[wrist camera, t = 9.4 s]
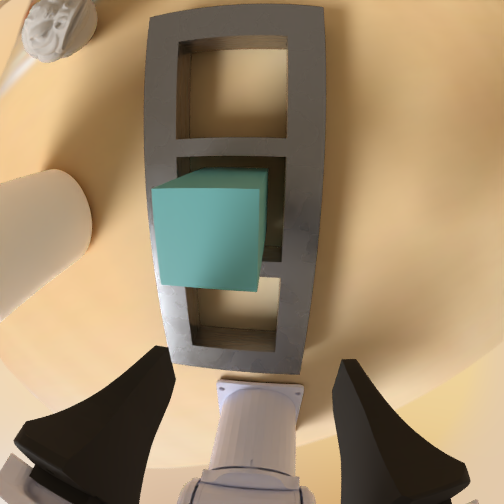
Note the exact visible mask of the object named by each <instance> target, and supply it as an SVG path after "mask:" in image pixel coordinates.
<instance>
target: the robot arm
mask: <svg viewBox="0 0 504 504" xmlns="http://www.w3.org/2000/svg"><path fill="white" fill-rule="evenodd" d="M175 381H176V378H175V374H174V370H173V366H172V361H171V357H170V352H169V348H168V347H162V346H154V347H153V348H152V349H151V350H150V351H149V352H147V353H146V354H145V355H144V356H143V357H142V358H141V359H140V360H138V361H137V362H136V363H135V364H134V365H133V366H132V367H130V368H129V369H128V370H127V371H126V372H124V373H123V374H122V375H121V376H120V377H118V378H117V379H116V380H114V381H113V382H112V383H110V384H109V385H108V386H106V387H105V388H103V389H102V390H101V391H99V392H98V393H96V394H94V395H93V396H91V397H89V398H88V399H86V400H84V401H82V402H80V403H78V404H76V405H74V406H72V407H70V408H68V409H65V410H63V411H60V412H58V413H55V414H52V415H49V416H46V417H42V418H38V419H35V420H30V421H26V422H25V424H24V425H23V427H22V428H21V430H20V431H19V433H18V434H17V436H16V438H15V439H14V443H15V445H16V446H17V448H18V449H19V450H20V451H21V452H23V453H24V454H25V455H26V456H27V457H28V458H29V459H30V460H31V461H32V462H33V463H34V464H35V466H34V468H32V467H30V466H29V465H28V464H26V463H25V462H23V461H22V460H21V459H19V458H18V457H17V456H15V455H14V454H10V456H9V458H8V459H7V461H6V463H5V464H4V466H3V468H2V469H1V471H0V497H1V498H2V499H4V500H5V501H6V502H7V503H8V504H139V500H140V493H141V487H142V482H143V477H144V473H145V468H146V464H147V460H148V456H149V453H150V449H151V445H152V443H153V440H154V437H155V435H156V432H157V430H158V428H159V425H160V423H161V420H162V418H163V416H164V413H165V411H166V409H167V406H168V404H169V401H170V399H171V395H172V392H173V388H174V384H175ZM216 385H217V394H218V403H219V411H220V419H219V424H218V428H217V433H216V437H215V442H214V446H213V451H212V455H211V460H210V464H209V469H208V470H207V469H204V470H203V472H202V476H201V478H193V479H192V480H190V481H189V482H187V483H186V484H185V485H184V486H183V488H182V490H181V492H180V495H179V498H178V501H177V504H316V501H315V496H314V494H313V493H312V492H311V491H310V490H309V489H308V488H307V487H306V486H300V487H299V477H295V454H296V423H297V419H298V415H299V410H300V406H301V402H302V398H303V393H304V386H303V385H300V384H273V383H257V382H244V381H233V380H223V379H220V380H218V381H217V384H216ZM222 387H223V388H222ZM297 392H298V393H297ZM332 398H333V413H334V419H335V425H336V431H337V437H338V443H339V448H340V455H341V477H342V478H341V480H342V481H341V504H452V502H451V498H452V497H453V496H455V495H456V494H458V493H459V492H461V491H462V490H463V489H465V488H466V487H467V486H468V485H469V484H470V477H469V474H468V471H467V468H466V466H465V463H463V462H461V461H459V460H457V459H455V458H453V457H450V456H449V455H447V454H445V453H444V452H442V451H441V450H439V449H438V448H436V447H434V446H433V445H432V444H430V443H429V442H427V441H426V440H425V439H424V438H422V437H421V436H420V435H419V434H417V433H416V432H415V431H414V430H413V429H412V428H411V427H410V426H408V425H407V424H406V423H405V422H404V421H403V420H402V419H401V418H400V417H399V415H398V414H397V413H396V412H395V411H394V410H393V409H392V407H391V406H390V405H389V404H388V403H387V402H386V400H385V399H384V398H383V396H382V395H381V394H380V393H379V391H378V390H377V389H376V387H375V386H374V384H373V383H372V382H371V380H370V379H369V377H368V376H367V375H366V373H365V372H364V370H363V369H362V367H361V366H360V364H359V363H358V361H357V360H356V359H342V360H341V364H340V367H339V371H338V374H337V377H336V380H335V384H334V387H333V390H332ZM467 504H479V503H478V500H474V501H472V502H470V503H467Z"/></svg>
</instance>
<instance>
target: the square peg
mask: <svg viewBox="0 0 504 504" xmlns="http://www.w3.org/2000/svg"><path fill="white" fill-rule="evenodd" d="M151 190H152V205H153V217H154V228H155V238H156V248H157V256H158V265H159V272H160V280H161V285H171V286H182V287H194V288H207V289H220V290H234V291H250V292H257V289H258V282H259V276H260V269H261V263H262V256H263V250H264V243H265V237H266V230H267V199H268V168H247V167H205V168H202V169H199V170H197V171H194V172H191V173H189V174H186V175H184V176H181V177H179V178H176V179H174V180H171V181H169V182H166V183H164V184H162V185H159V186H157V187H154V188H152V189H151Z"/></svg>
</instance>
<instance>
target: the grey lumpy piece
mask: <svg viewBox="0 0 504 504" xmlns="http://www.w3.org/2000/svg"><path fill="white" fill-rule="evenodd" d="M95 7H96V5H95V4H94V3H93V1H91V0H41V1H40V2H38V3H36V4H35V5H33V6H32V8H31V9H30V13H29V15H28V17H27V18H26V19H25V23H24V27H23V29H22V42H23V46H24V49H25V51H26V52H27V53H28V54H29V55H30V56H32V57H33V58H36V59H39V61H41V62H43V63H51V62H54V61H56V60H59V59H60V58H65V57H69V56H70V55H72V54H73V53H75V52H77V51H78V50H80V49H81V48H82V47H84V46H85V45H86V44H87V43H88V42H89V40H90V39H91V37H92V36H93V34H94V32H95V30H96V27H97V21H98V17H97V12H96V9H95Z"/></svg>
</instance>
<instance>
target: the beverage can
mask: <svg viewBox="0 0 504 504" xmlns="http://www.w3.org/2000/svg"><path fill="white" fill-rule="evenodd" d="M91 234H92V218H91V212H90V208H89V204H88V201H87V199H86V196H85V194H84V192H83V190H82V189H81V187H80V185H79V184H78V183H77V182H76V180H75V179H74V178H73V177H71V176H70V175H69V174H67V173H66V172H64V171H61V170H58V169H50V170H46V171H42V172H38V173H34V174H31V175H27V176H24V177H20V178H17V179H14V180H10V181H7V182H4V183H1V184H0V323H1V322H2V321H3V320H4V319H5V318H6V317H7V316H8V315H10V314H11V313H12V312H13V311H14V310H15V309H17V308H18V307H19V306H20V305H21V304H22V303H24V302H25V301H26V300H27V299H28V298H30V297H31V296H32V295H33V294H35V293H36V292H37V291H38V290H40V289H41V288H42V287H43V286H45V285H46V284H47V283H48V282H50V281H51V280H52V279H54V278H55V277H56V276H57V275H59V274H60V273H61V272H63V271H64V270H65V269H67V268H68V267H69V266H71V265H72V264H74V263H75V262H76V261H78V260H79V259H80V258H81V257H82V256H83V255H84V254H85V252H86V251H87V249H88V246H89V244H90V240H91Z"/></svg>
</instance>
